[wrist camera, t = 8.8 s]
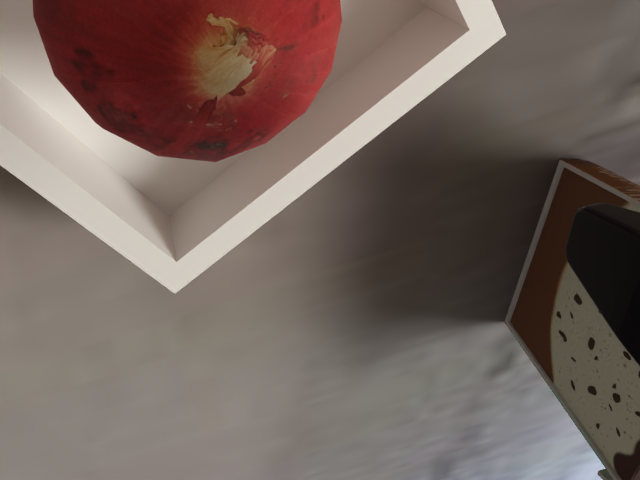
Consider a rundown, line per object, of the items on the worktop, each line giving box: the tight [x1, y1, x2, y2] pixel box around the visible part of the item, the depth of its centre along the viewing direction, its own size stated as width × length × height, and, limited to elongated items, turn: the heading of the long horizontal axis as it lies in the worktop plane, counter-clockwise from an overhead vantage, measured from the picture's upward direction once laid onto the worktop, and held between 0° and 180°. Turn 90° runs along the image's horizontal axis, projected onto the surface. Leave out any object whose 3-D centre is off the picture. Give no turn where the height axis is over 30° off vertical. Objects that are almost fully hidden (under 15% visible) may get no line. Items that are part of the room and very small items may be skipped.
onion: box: [33, 0, 342, 162], centre depth 11 cm, size 6×6×8 cm
